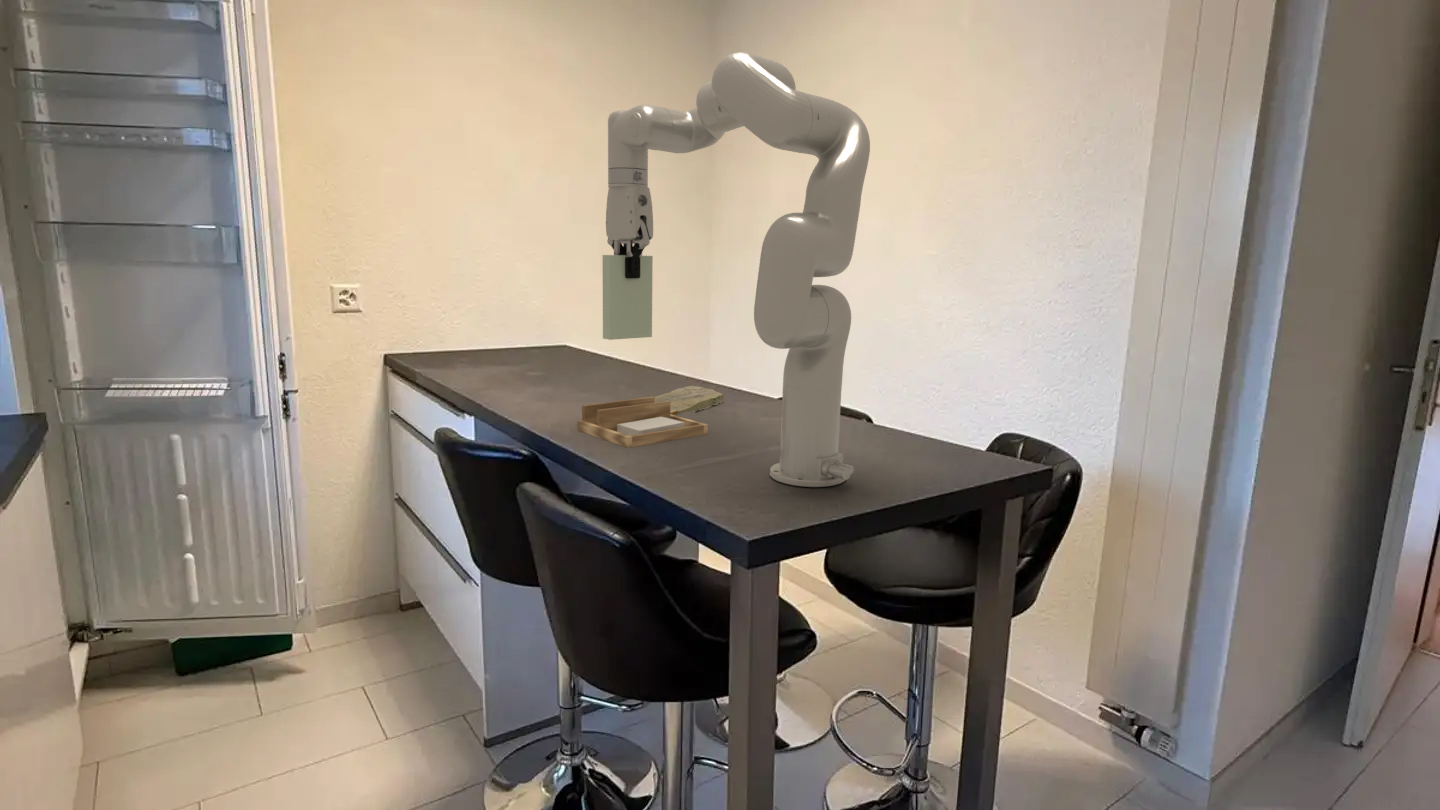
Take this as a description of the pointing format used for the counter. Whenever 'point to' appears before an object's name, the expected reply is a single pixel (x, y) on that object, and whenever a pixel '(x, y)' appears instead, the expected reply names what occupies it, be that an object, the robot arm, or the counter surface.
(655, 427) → the upper offcut
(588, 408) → the tray
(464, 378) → the counter surface
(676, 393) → the stone slab
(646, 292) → the pale green slab
